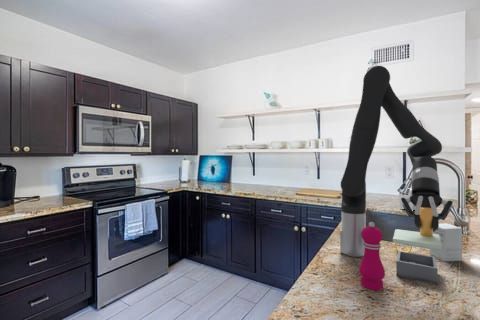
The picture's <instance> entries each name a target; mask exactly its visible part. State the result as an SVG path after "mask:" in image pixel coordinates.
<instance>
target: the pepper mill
mask: <svg viewBox="0 0 480 320" xmlns="http://www.w3.org/2000/svg"><path fill="white" fill-rule="evenodd" d="M361 237H362V239H363V240H364V241H363V246H364V249H365V251H364V256H363V257H362V260H361V261H360V263H359V268H358V272H359V273H360V276H361V277H360V284H361V286H363V287H364V288H366V289H368V290H372V291H381V290H383V288H384V281H383V279H384V278H385V277H386V271H385V268H384V265H383V263H382V261H381V256H380V249H382V247H381V245H382V243H381V242H382V240H383V238H384V235H383V232H382V231H381V229H380V228H378V227H376V223H375V222H373V221H370V222H368V226H366V227H365V228H363V230H362V232H361Z"/></svg>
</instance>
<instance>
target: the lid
mask: <svg viewBox="0 0 480 320" xmlns="http://www.w3.org/2000/svg"><path fill="white" fill-rule="evenodd" d="M432 218H433V209H432V208H428V207H420V229H419V231H413V230H405V229H399V228H397V229H396V228H395V230H394V233H393V237H392V243H395V242H396V244H397V243H398V245H401V246H402V245H403V246H409V247H410V246H412V247H415V248H422V249H429V250H430V249H435V248H436V249H442V244H441V240H440V237H439V234H433V220H432Z"/></svg>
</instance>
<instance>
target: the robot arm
mask: <svg viewBox="0 0 480 320" xmlns="http://www.w3.org/2000/svg"><path fill="white" fill-rule="evenodd" d="M362 81H363V83H362V84H363V85H362V93H361V94H362V95H361V99H360V104H359V107H358V110H357V112H356V115H355V119H354V123H353V125H352V129H351V135H350V140H349V148H348V158H347V163H346V167H345V170H344V172H343V176H342V178H341V180H340V189H341V211H340V212H341V217H340V219H341V228H340V229H339V239H340V240H339V241H340V242H339V243H340V244H339V245H340V246H339V247H340V248H339V249H340V250H339V252H340V254H343V255H345V256H349V257H353V258H357V257H358V258H363V257H364V251H365V249H364V246H363V241H364V240H363V239H362V237H361V232H362V230H363V228H365V227H367V225H366V224H367V219H366V218H367V216H366V213H367V212H366V211H367V210H366V209H367V206H366V205H367V188H366V187H367V183H366V178H367V169H368V165H369V162H370V161H369V160H370V159H371V156H372V153H373V151H374V149H375V145H376V142H377V138H378V133H379V128H380V124H381V123H380V121H381V112H382V109H383V110H384V111H385V112H386V115H387V117H388V118H389V119H390V121H391V122H392V124H393V126H395V128H396V130H397V131H398V132H399V133H400V136H401V137H402V138H403V139H407V140H408V139H411V138H418V139H419V140H418V141H416V142H414V143H411V144H410V145H409V146H408V148H407V149H406V150H407V151H406V153H407V155H408V157H409V159H410V162H411V165H412V175H411V189H412V195H411V196H410V198H407V199H405V198H401V204H402V206H403V207H404V209H405V210H404V211H405V213H406V214H407V216H408V217H409V218H413V219H414V227H415V228H416V229H417V230H420V207H428V208H432V209H433V218H432V220H433V231H436V230H438V228H439V224H440V223H439V221H440V220H441V221H445V220H446V218H447V216H448V215H449V213H450V212H451V210H452V208H453V201H452V200H448V201H447V200H444V199H443V197H442V196H441V189H440V177H439V174H438V163H437V160H436V159H434V158H433V157H434V156H437V155H439V154H440V153H441V152H442V150H443V146H442V145H443V144H442V143H441V141H440V140H439V139H438V138H437V137H436V136H434V135H433V134H431V133H430V132H429V131H427V130H426V129H425V128H424V127H423V126H422V125H421V123H420V122H419V120H418V119H417V118H416V117H415V115H414V113H413V112H412V111H411V109H409V108H408V107H407V106H406V105H405V104H404V103H403V102H402V101H401V100H400V99H399V98H398V96H397V95H396V93H395V92H394V90H393V87H392V86H391V84H390V81H391V73H390V71H389V70H388V69H387V68H386V67H385V66H383V65H375V66H373V67H371V68H369V69H368V70H367V71H366V72H365V74H364V75H363V80H362ZM410 202H411V203H412V204H413V205H414V206H415V207H416V209H415V211H412V210H411V208H410V206H409V205H410ZM441 205H442V208H443V209H442V211H441V212H440V213H439V212H438V210H437V209H438V208H439V207H440V206H441Z"/></svg>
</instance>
